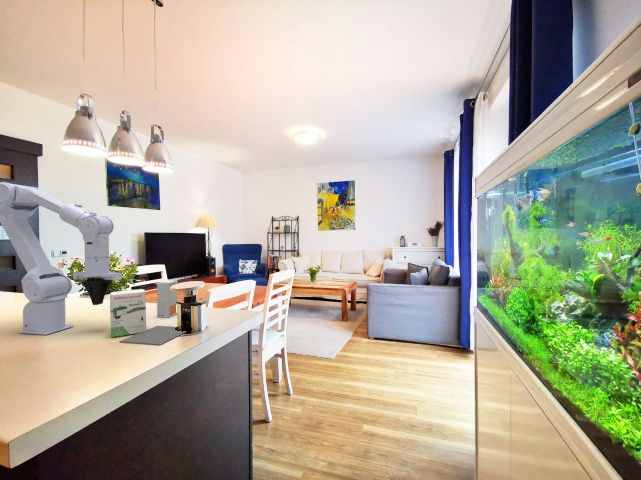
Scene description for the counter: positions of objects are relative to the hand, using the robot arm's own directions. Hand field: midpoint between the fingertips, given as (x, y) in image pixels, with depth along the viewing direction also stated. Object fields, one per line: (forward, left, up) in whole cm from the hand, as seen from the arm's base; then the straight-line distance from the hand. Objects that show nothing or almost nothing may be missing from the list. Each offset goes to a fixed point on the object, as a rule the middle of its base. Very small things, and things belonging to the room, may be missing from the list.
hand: (97, 304), depth 88 cm
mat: (+20, 0, -8) cm, 21 cm away
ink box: (+10, 0, -8) cm, 13 cm away
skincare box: (+8, +19, -8) cm, 22 cm away
